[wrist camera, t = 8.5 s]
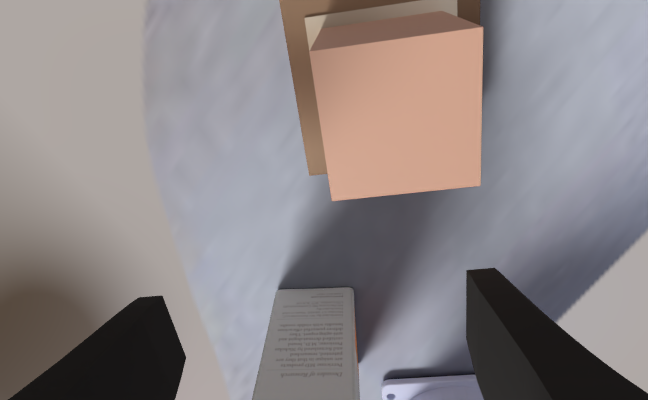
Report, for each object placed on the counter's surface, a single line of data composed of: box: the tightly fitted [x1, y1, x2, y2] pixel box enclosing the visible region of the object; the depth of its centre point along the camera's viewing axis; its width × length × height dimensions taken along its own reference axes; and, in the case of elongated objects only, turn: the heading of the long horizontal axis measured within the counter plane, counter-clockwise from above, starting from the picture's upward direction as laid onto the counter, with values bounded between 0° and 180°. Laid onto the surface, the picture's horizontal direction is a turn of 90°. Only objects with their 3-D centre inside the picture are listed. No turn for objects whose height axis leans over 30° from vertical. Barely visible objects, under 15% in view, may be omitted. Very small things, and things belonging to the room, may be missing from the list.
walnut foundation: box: [279, 0, 480, 176], centre depth 17 cm, size 6×6×3 cm
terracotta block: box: [309, 11, 483, 201], centre depth 13 cm, size 4×4×5 cm
